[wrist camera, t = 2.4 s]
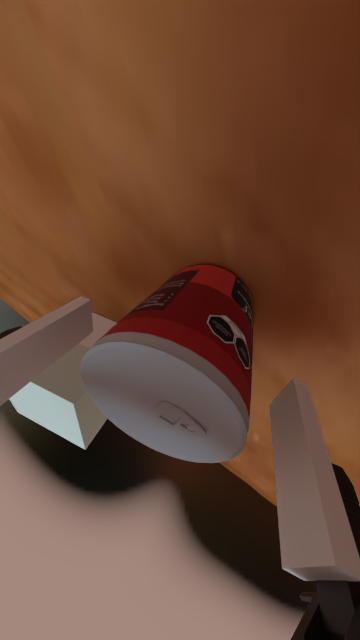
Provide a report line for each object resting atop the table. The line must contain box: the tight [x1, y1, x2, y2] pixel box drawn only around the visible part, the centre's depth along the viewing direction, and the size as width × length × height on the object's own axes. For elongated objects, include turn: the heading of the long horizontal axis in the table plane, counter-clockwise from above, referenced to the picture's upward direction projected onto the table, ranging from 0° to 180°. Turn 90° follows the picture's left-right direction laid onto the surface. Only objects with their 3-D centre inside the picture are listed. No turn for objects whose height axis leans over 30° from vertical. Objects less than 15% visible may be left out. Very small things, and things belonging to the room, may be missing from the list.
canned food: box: [80, 265, 254, 463], centre depth 13 cm, size 8×8×11 cm
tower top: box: [9, 344, 107, 449], centre depth 19 cm, size 9×9×5 cm
